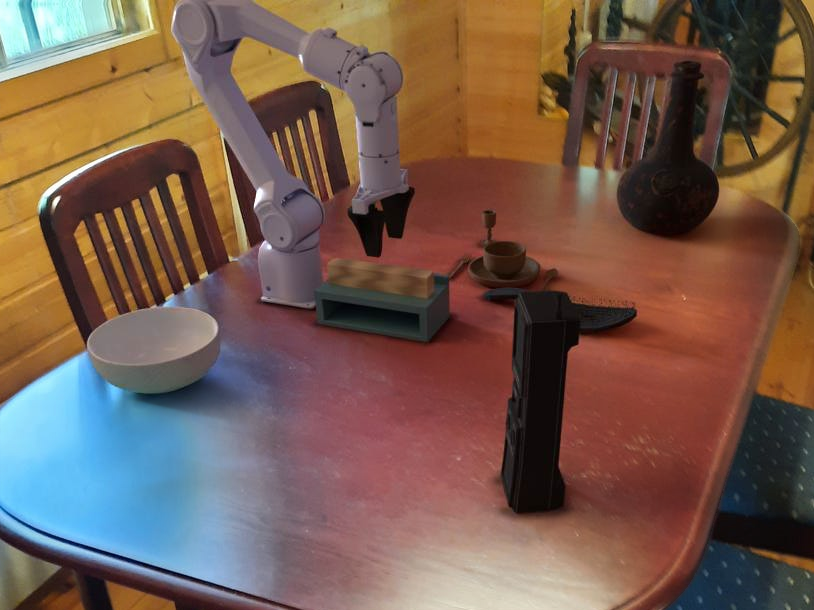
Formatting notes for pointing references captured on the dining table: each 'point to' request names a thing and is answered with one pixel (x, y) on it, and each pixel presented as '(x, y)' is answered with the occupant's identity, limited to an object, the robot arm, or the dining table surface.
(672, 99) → the glass bottle
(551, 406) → the portable radio
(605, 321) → the hairbrush
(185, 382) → the cereal bowl
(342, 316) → the shelf
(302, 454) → the dining table surface
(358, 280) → the stick
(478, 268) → the place setting
